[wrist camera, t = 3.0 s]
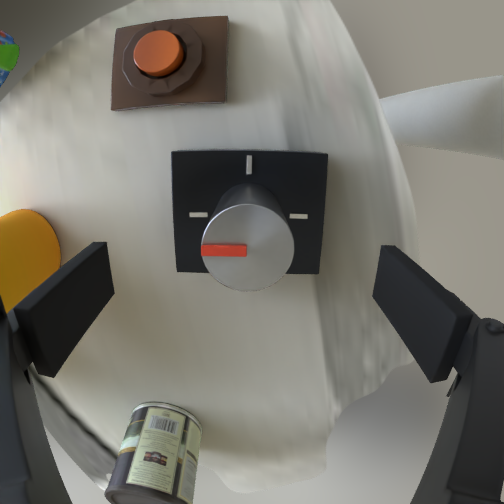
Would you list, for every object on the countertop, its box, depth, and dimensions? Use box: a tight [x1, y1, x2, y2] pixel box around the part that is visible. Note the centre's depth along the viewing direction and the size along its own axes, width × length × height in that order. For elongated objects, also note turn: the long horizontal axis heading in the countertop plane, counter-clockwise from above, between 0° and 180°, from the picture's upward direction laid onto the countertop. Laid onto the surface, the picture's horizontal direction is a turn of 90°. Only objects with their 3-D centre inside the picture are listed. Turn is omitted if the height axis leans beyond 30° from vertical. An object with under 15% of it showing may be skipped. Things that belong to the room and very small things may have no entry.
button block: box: [111, 16, 229, 111], centre depth 21 cm, size 10×8×3 cm
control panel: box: [171, 149, 328, 274], centre depth 26 cm, size 12×10×3 cm
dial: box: [201, 183, 294, 291], centre depth 20 cm, size 5×5×8 cm
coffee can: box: [105, 402, 202, 504], centre depth 31 cm, size 10×10×14 cm
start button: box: [134, 30, 184, 76], centre depth 19 cm, size 4×4×2 cm
